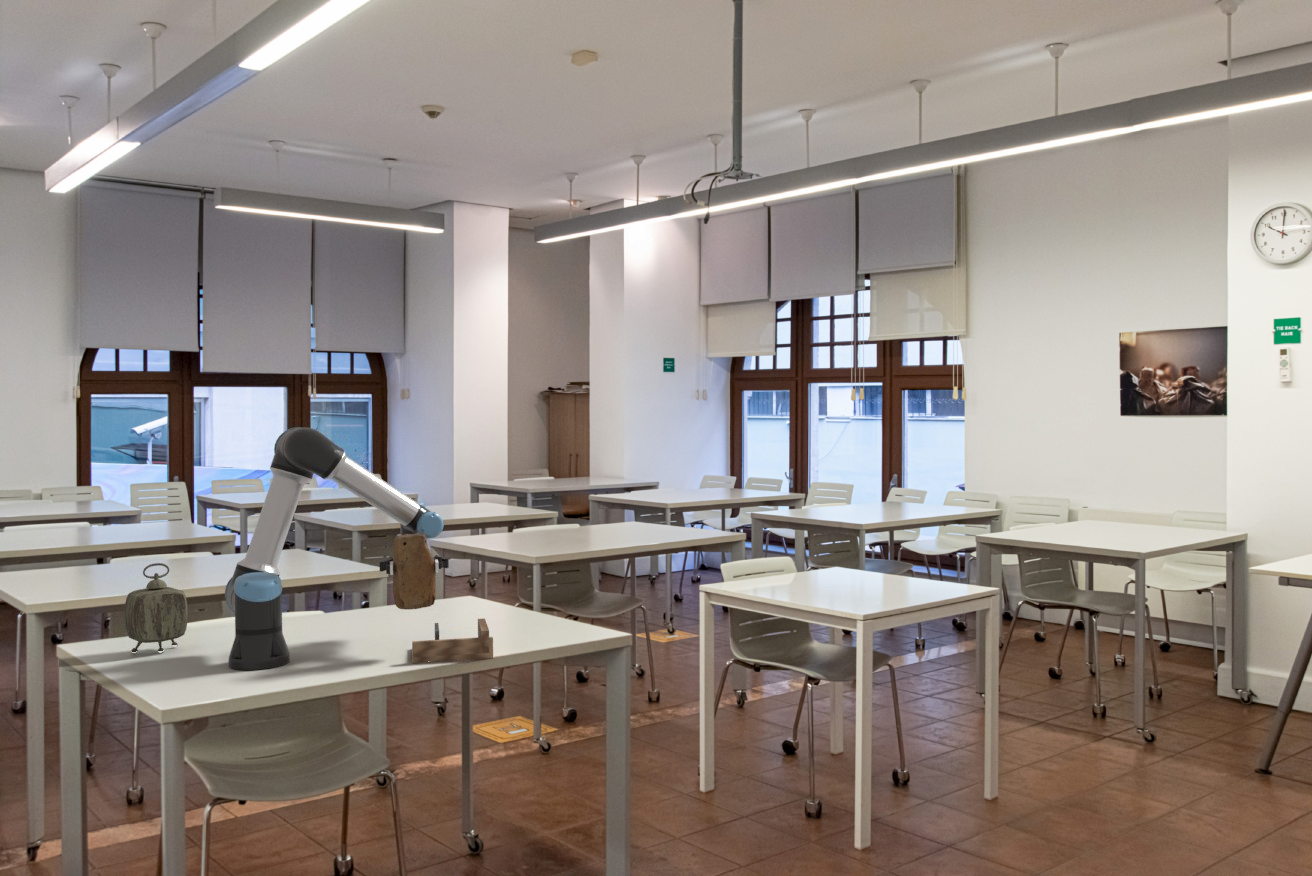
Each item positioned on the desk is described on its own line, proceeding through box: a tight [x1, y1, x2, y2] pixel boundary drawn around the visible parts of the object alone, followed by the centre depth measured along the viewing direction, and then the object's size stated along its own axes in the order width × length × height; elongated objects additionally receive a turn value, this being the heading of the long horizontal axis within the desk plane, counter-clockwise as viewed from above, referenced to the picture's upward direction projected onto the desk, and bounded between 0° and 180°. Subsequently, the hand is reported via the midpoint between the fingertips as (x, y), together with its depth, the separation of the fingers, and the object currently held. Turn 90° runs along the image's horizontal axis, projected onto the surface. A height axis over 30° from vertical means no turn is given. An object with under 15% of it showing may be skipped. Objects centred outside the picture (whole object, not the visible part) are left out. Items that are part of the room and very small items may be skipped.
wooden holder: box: [411, 618, 494, 664], centre depth 281 cm, size 21×18×8 cm
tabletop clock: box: [123, 562, 189, 653], centre depth 287 cm, size 14×9×25 cm, turn 134°
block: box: [392, 533, 437, 610], centre depth 279 cm, size 11×8×20 cm
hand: (414, 568), depth 276 cm, fingers closed on block, 11 cm apart
